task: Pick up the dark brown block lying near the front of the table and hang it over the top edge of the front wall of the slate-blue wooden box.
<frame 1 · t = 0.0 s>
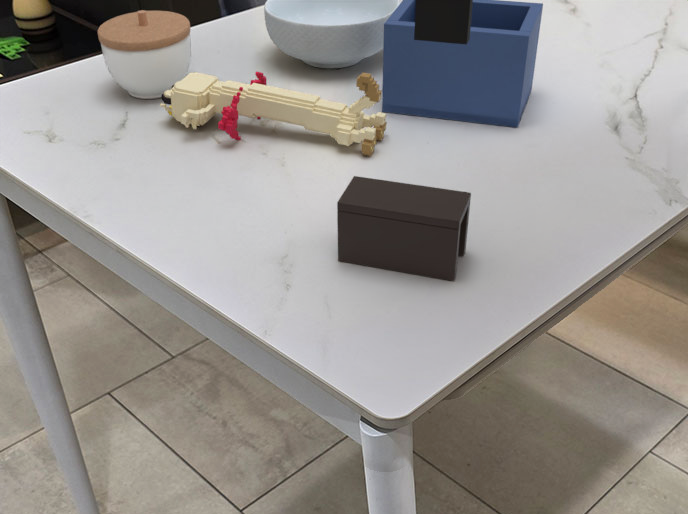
blue box: (457, 101, 97), on the table
cereal bowl: (332, 58, 109), on the table
trinket box: (153, 90, 104), on the table
dark brown block: (401, 256, 73), on the table
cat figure: (268, 133, 93), on the table
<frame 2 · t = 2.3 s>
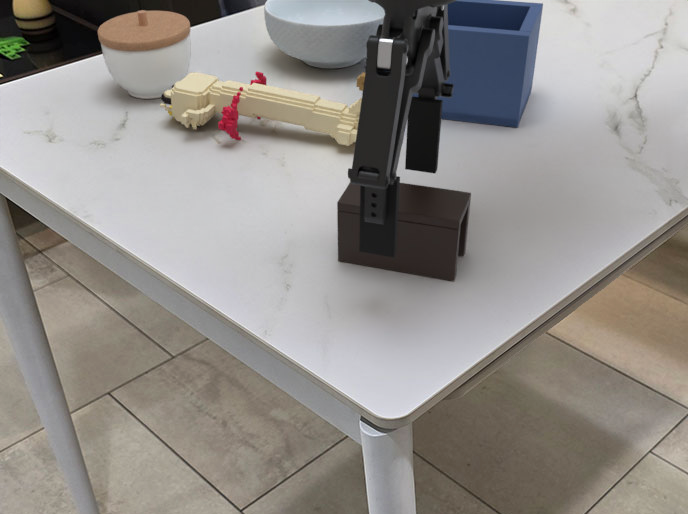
hand: (400, 208, 70), 5 cm above the table, tool pointing down, fingers open, 13 cm apart
nothing on the table moved.
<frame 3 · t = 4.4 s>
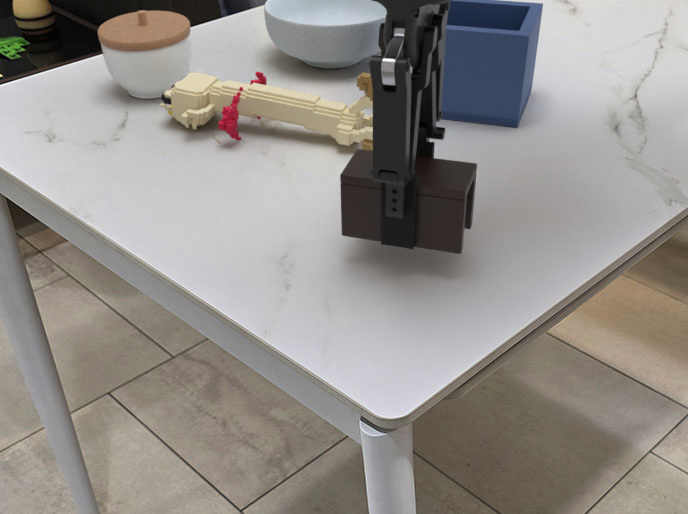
hand: (406, 226, 71), 3 cm above the table, tool pointing down, fingers closed on dark brown block, 5 cm apart
dark brown block: (406, 230, 71), point 3 cm above the table, touching gripper
everything else where it was.
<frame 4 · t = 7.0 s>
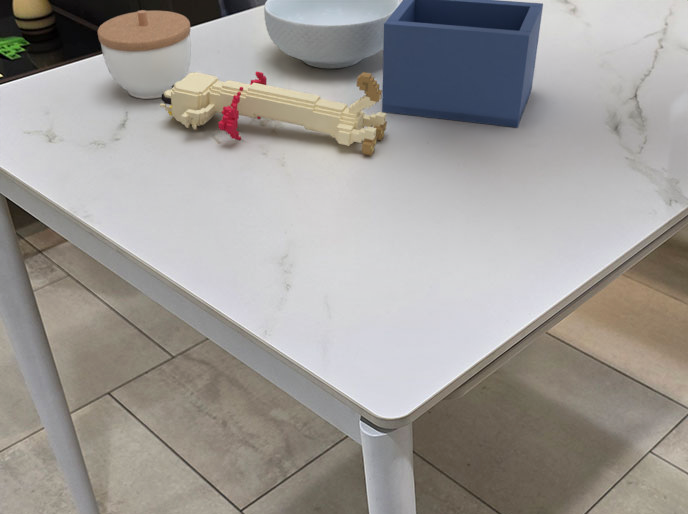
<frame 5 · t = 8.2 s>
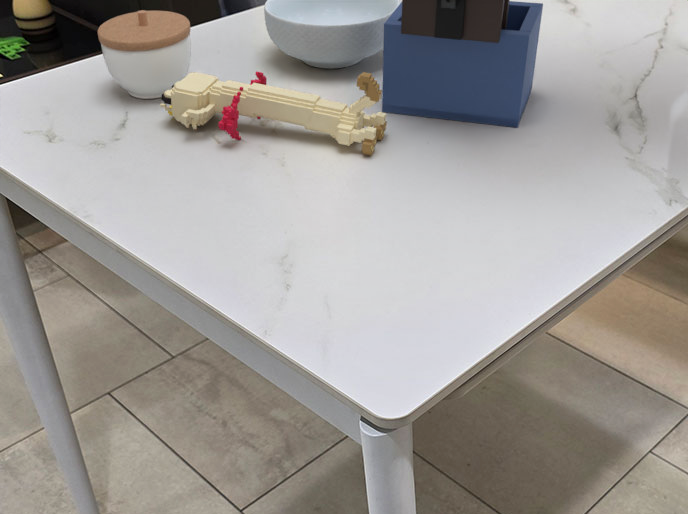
hand: (454, 27, 88), 10 cm above the table, tool pointing down, fingers closed on dark brown block, 5 cm apart
dark brown block: (453, 30, 88), point 10 cm above the table, touching gripper
everything else where it was.
when the fingers open (5 cm above the table, at t = 9.5 s): dark brown block stays where it is, resting on blue box.
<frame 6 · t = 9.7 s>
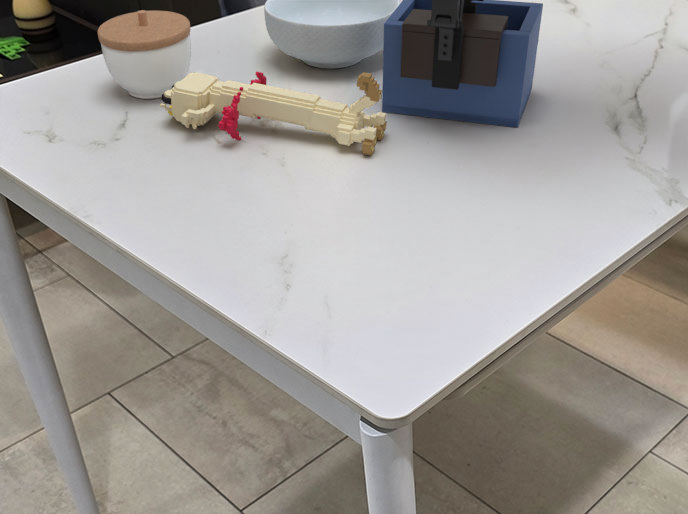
hand: (452, 74, 91), 5 cm above the table, tool pointing down, fingers open, 6 cm apart
dark brown block: (451, 73, 91), point 5 cm above the table, touching blue box
everything else where it was.
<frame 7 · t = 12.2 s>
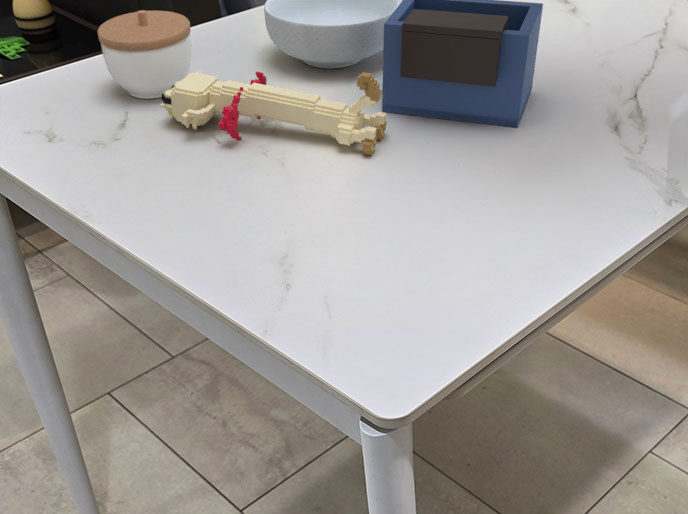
nothing on the table moved.
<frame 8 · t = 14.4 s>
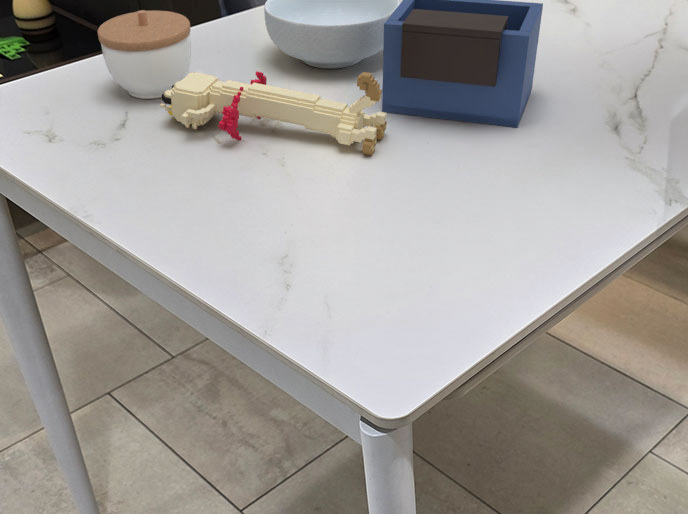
nothing on the table moved.
at the end: dark brown block 0.1 cm from the target spot on the blue box, point 5.0 cm above the blue box's base; dark brown block touching blue box; dark brown block tilted 0° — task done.
